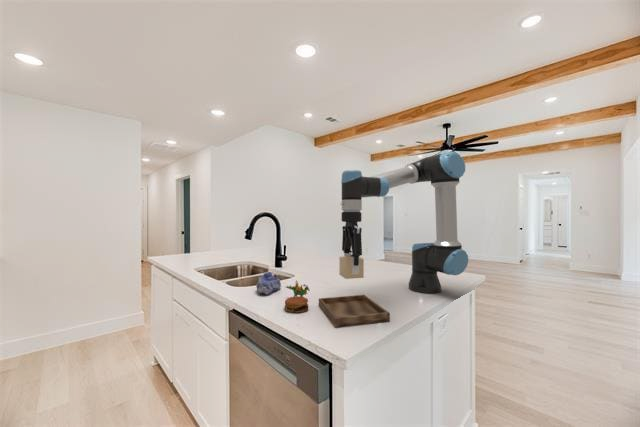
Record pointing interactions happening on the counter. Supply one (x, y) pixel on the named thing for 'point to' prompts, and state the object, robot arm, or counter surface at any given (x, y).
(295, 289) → the figurine
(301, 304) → the burger
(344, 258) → the tan block
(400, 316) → the counter surface
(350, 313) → the tray
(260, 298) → the counter surface
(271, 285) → the mineral
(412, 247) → the robot arm
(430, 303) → the counter surface
